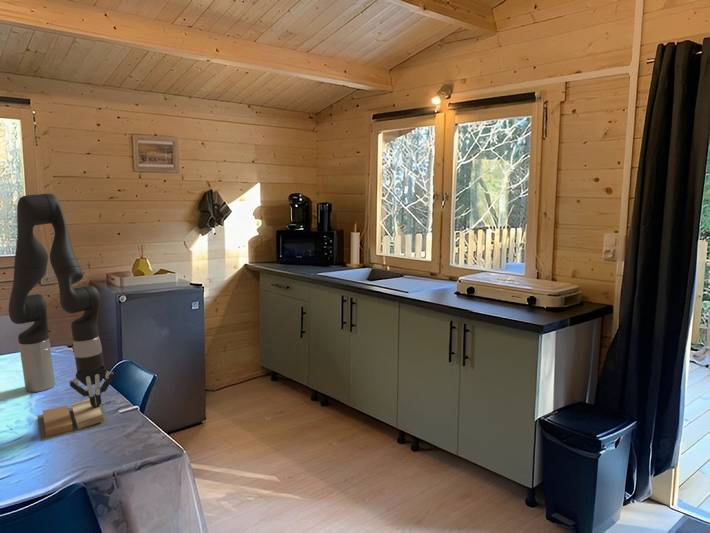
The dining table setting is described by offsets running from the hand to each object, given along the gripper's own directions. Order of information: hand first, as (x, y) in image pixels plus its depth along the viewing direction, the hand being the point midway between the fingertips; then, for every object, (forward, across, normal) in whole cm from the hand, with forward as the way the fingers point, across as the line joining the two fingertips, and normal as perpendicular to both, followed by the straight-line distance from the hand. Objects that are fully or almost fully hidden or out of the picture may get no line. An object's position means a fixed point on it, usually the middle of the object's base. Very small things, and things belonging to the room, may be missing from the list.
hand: (96, 406), depth 171 cm
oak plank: (+2, +3, 0) cm, 3 cm away
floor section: (+3, +7, 0) cm, 7 cm away
